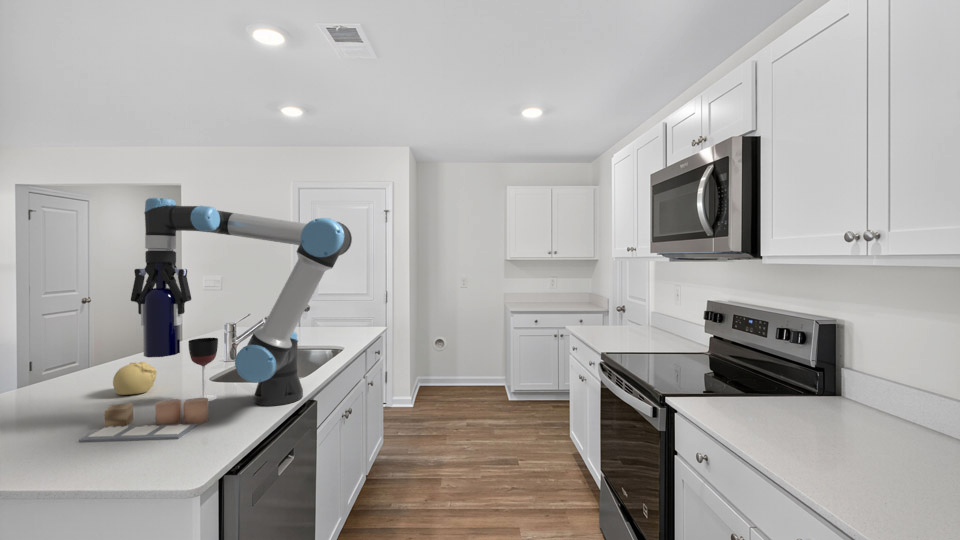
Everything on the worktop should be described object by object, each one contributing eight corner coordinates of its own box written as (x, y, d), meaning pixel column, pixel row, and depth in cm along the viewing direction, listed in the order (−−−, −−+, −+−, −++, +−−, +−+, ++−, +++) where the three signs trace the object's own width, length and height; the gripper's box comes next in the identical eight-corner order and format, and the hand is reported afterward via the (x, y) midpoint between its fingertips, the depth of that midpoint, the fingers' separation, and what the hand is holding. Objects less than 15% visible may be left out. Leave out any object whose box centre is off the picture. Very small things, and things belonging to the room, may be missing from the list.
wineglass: (183, 401, 147) (182, 341, 146) (207, 393, 155) (207, 336, 154) (199, 404, 144) (199, 343, 143) (224, 396, 152) (223, 338, 151)
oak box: (133, 420, 130) (132, 403, 130) (126, 426, 125) (126, 408, 125) (112, 422, 128) (111, 405, 128) (104, 428, 123) (104, 410, 123)
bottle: (161, 358, 129) (160, 255, 128) (134, 356, 130) (133, 255, 130) (187, 351, 138) (186, 255, 137) (162, 350, 139) (161, 255, 139)
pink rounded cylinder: (185, 418, 131) (184, 398, 131) (174, 426, 125) (174, 405, 125) (163, 419, 130) (162, 399, 130) (151, 427, 124) (150, 406, 124)
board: (196, 425, 126) (196, 423, 126) (178, 438, 117) (178, 435, 117) (104, 428, 123) (104, 425, 123) (79, 442, 114) (79, 439, 114)
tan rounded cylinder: (212, 417, 133) (212, 397, 133) (201, 424, 127) (201, 403, 127) (190, 417, 132) (190, 397, 132) (179, 425, 126) (179, 404, 126)
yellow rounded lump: (162, 391, 157) (162, 361, 157) (121, 400, 147) (120, 368, 147) (148, 386, 163) (147, 357, 163) (107, 394, 153) (107, 363, 153)
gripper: (204, 250, 138) (205, 322, 139) (131, 250, 136) (132, 323, 137) (191, 250, 131) (192, 326, 131) (113, 249, 128) (115, 327, 129)
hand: (161, 324), depth 134 cm, fingers closed on bottle, 8 cm apart
